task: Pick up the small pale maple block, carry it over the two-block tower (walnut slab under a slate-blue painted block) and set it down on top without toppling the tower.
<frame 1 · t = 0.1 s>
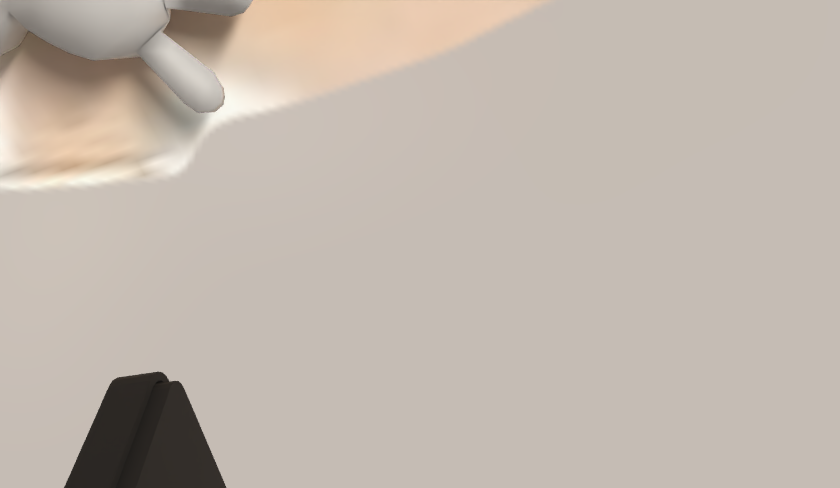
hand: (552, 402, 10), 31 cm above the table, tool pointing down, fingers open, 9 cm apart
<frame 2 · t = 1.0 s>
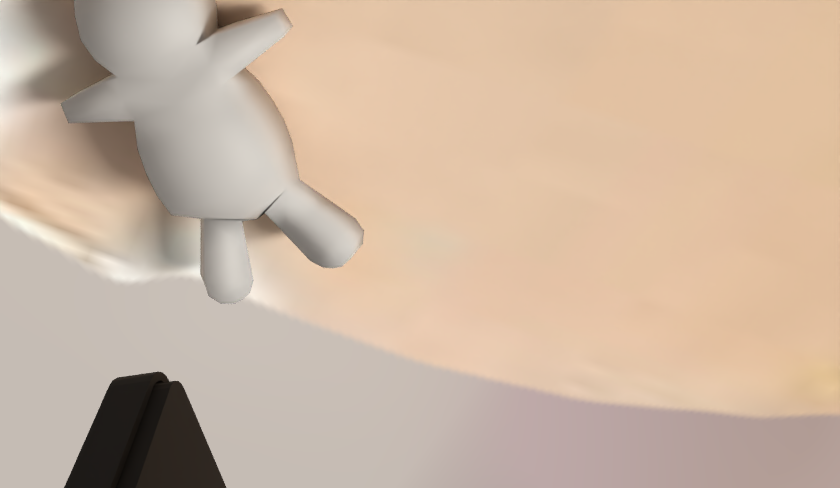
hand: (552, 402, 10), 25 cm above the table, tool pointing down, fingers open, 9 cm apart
white figure shaped piece: (223, 106, 34), on the table
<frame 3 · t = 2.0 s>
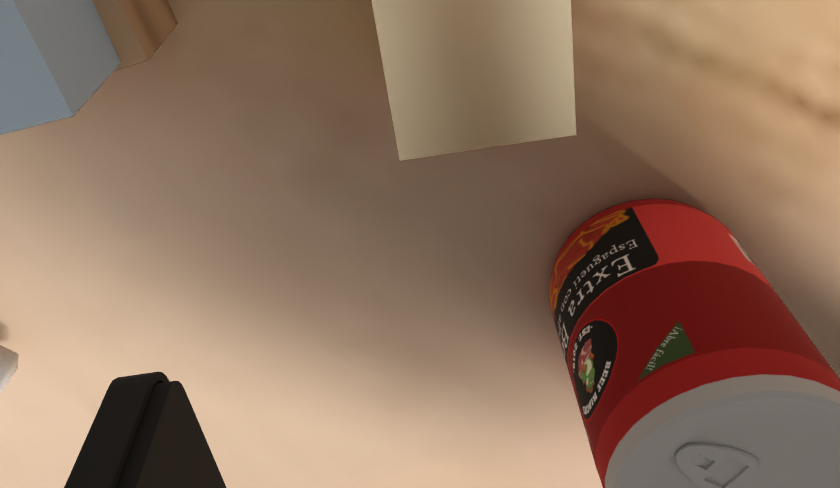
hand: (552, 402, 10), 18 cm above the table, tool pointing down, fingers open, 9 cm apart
maple block: (460, 2, 26), on the table
canned food: (639, 272, 32), on the table
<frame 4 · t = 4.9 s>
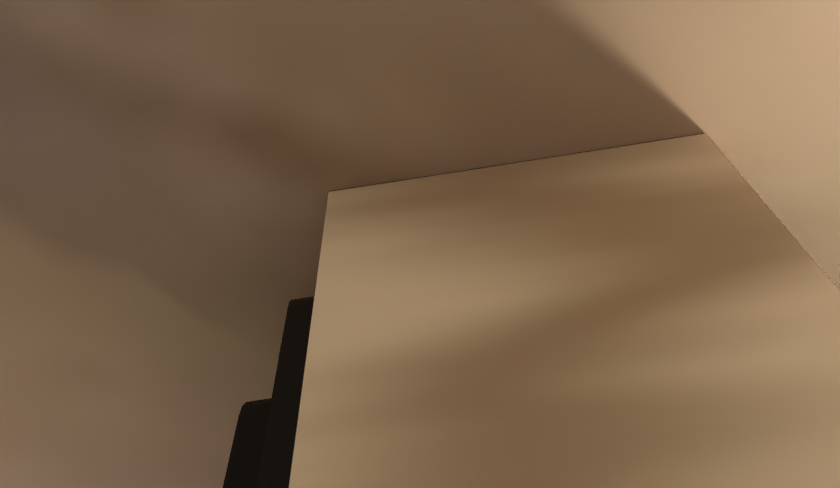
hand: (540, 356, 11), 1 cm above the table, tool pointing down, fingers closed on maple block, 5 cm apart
maple block: (529, 312, 12), on the table, touching gripper
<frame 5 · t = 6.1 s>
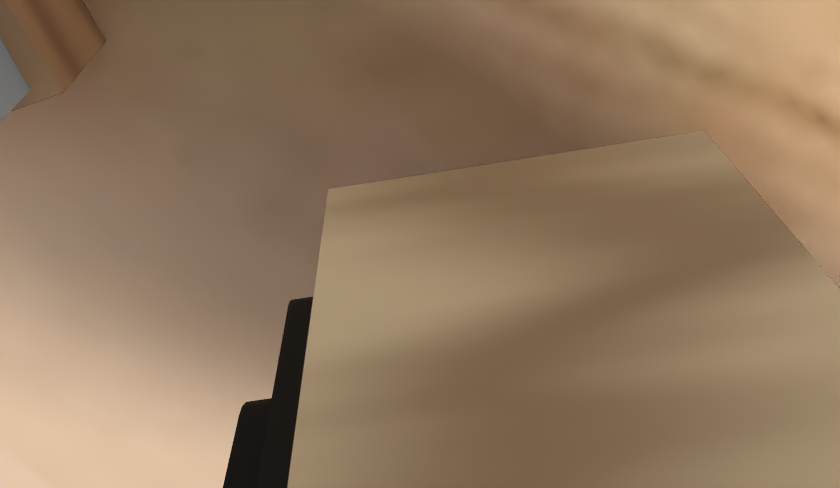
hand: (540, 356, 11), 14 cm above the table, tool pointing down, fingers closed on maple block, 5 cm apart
maple block: (528, 309, 12), point 13 cm above the table, touching gripper
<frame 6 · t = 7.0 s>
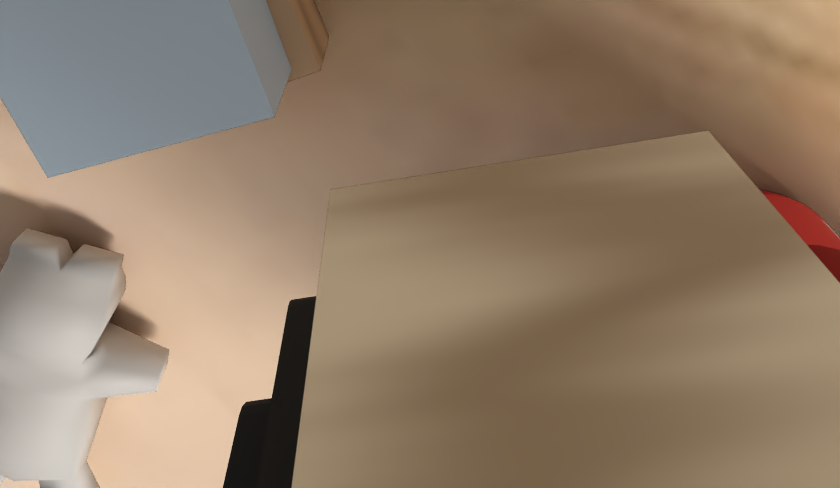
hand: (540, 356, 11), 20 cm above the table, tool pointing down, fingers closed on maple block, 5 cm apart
white figure shaped piece: (63, 355, 36), on the table
maple block: (531, 310, 12), point 19 cm above the table, touching gripper
canned food: (732, 259, 34), on the table
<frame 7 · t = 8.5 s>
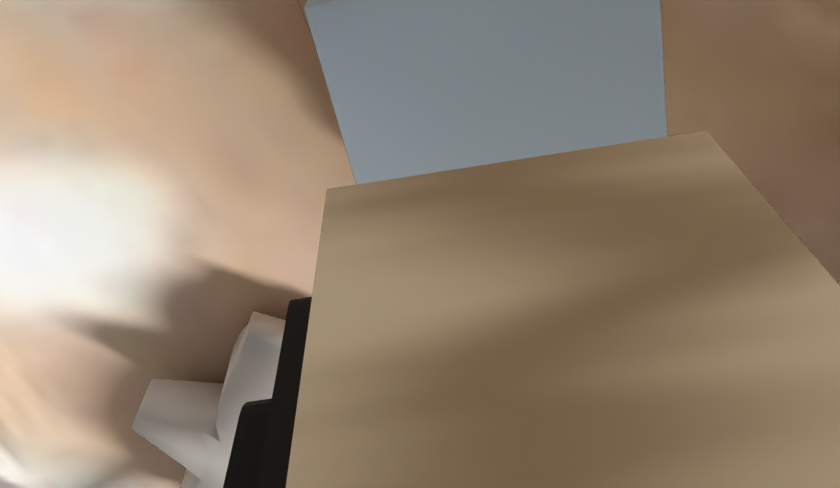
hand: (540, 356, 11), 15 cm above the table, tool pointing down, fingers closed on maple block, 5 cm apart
white figure shaped piece: (255, 438, 33), on the table
maple block: (529, 310, 11), point 14 cm above the table, touching gripper
tower top block: (486, 68, 20), point 4 cm above the table
when the fingers open (10 cm above the table, at t = 10.1 s): maple block drops 1 cm, resting on tower top block.
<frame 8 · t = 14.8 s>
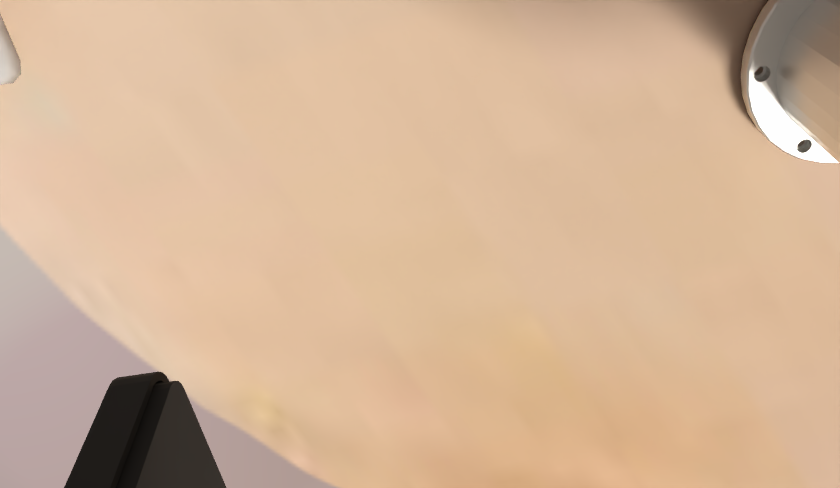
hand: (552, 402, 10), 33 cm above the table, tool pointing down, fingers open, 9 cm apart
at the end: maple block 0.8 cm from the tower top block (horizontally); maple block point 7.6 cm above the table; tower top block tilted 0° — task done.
